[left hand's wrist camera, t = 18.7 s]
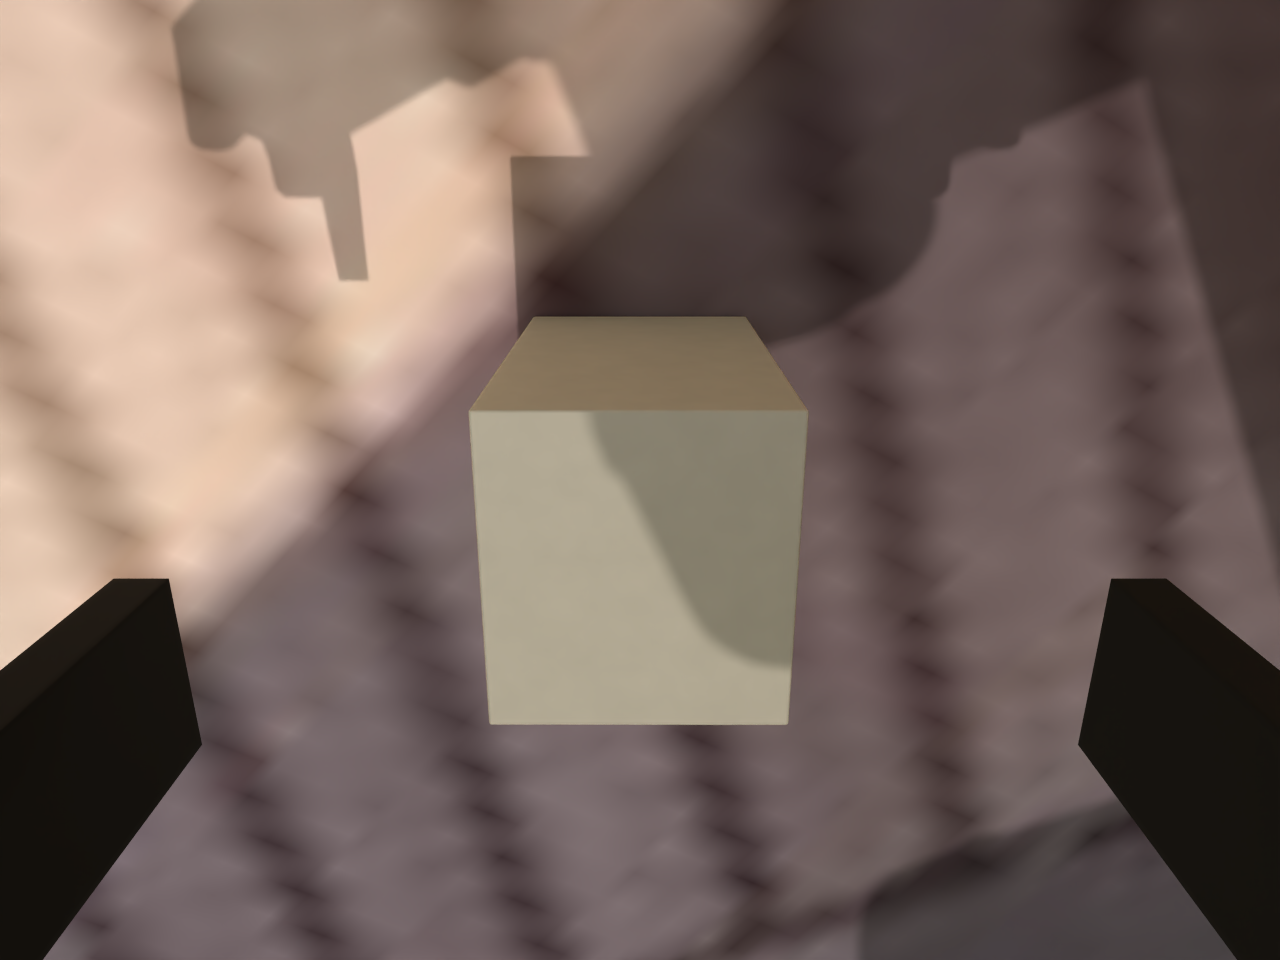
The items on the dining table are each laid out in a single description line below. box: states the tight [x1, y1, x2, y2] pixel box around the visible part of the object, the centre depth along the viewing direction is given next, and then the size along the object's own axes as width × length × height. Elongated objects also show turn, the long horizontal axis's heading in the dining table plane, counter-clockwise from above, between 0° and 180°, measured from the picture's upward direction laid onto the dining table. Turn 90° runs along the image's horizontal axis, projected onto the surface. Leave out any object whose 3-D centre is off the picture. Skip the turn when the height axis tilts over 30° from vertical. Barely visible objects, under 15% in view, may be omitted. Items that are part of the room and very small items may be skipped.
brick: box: [469, 317, 809, 725], centre depth 20 cm, size 6×6×9 cm
